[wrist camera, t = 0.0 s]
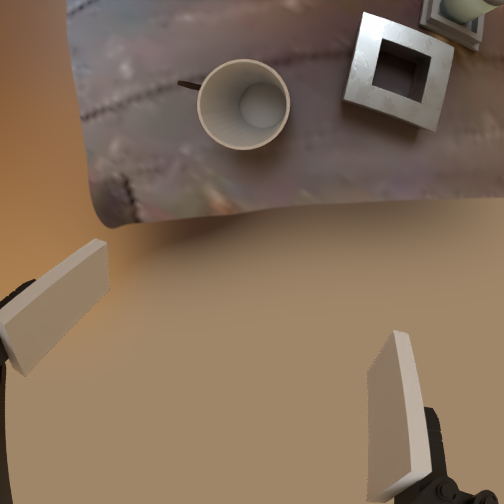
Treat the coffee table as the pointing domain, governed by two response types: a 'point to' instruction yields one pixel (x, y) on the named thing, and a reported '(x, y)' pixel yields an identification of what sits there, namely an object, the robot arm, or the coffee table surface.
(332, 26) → the coffee table surface
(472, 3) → the plug
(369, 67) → the port block
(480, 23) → the grey square open tray
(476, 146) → the coffee table surface
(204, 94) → the coffee mug
